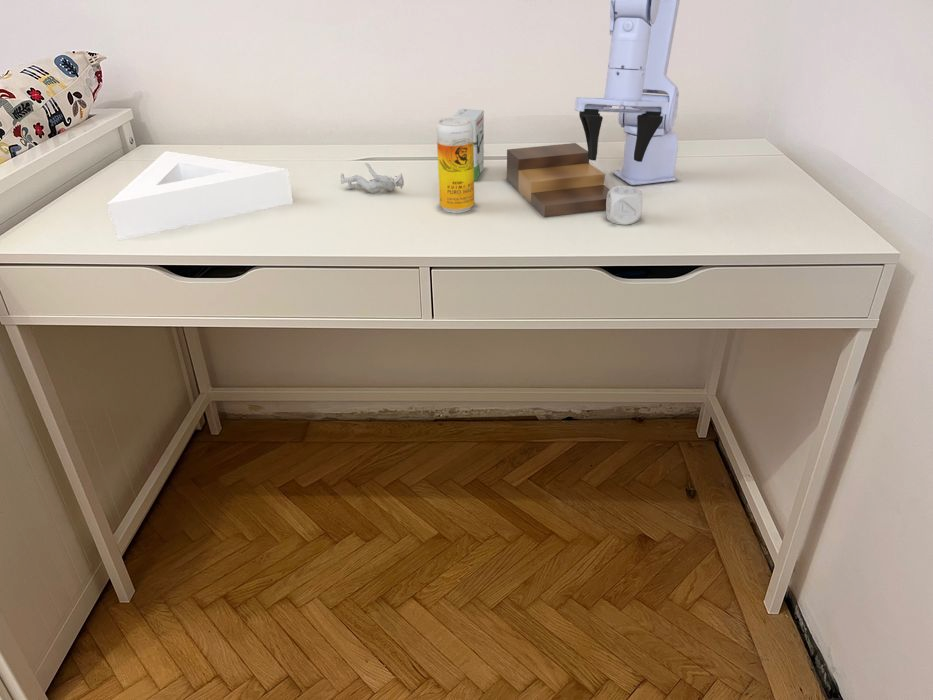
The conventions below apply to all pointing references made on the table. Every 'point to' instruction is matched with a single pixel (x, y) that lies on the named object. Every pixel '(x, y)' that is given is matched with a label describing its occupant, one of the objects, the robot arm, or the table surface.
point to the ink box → (476, 136)
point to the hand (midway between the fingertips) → (615, 160)
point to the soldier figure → (373, 182)
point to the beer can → (455, 164)
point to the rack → (557, 179)
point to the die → (624, 205)
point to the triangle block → (195, 193)
